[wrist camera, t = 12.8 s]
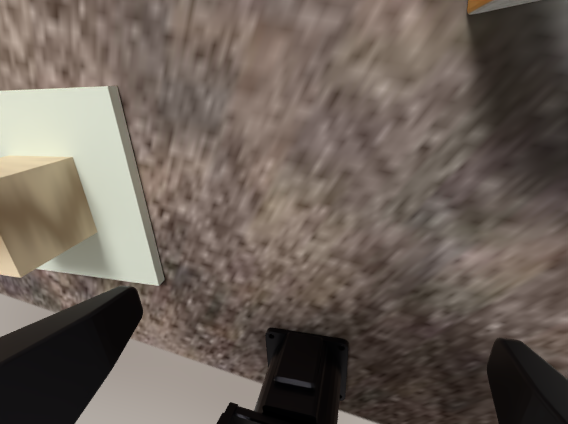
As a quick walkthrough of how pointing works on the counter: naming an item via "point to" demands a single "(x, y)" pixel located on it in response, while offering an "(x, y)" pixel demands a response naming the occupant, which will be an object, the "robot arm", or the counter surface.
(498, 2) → the small box
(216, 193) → the counter surface
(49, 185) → the maple cube
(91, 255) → the sage mat
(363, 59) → the counter surface
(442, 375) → the counter surface
